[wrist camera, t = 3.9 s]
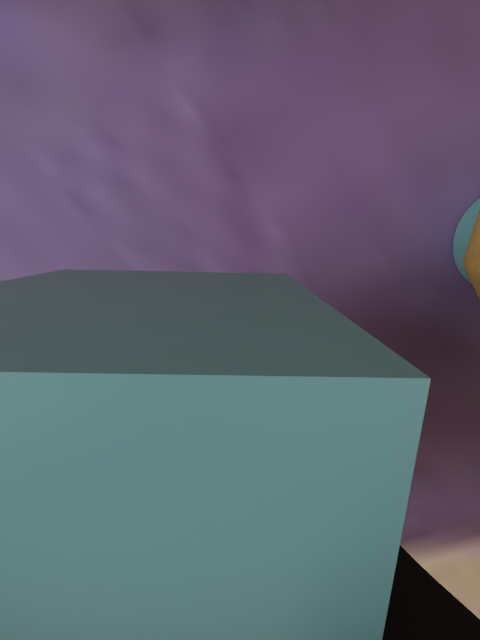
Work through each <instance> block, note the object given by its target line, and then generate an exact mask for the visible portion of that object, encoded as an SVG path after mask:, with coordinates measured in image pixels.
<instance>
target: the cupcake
mask: <svg viewBox="0 0 480 640" xmlns="http://www.w3.org/2000/svg"><path fill="white" fill-rule="evenodd" d="M453 257H454V261H455V264H456V266H457V269H458V270H459V272H460V273H461V275H462V276H463V277H464V278H465V279H466V280H467V281H468V282H470V283H471V284H472V285H473V287H474V289H475V291H476V294H477V296H478V298H479V300H480V198H479V199H478V200H476V201H475V202H474V203H473V204H472V205H471V206H470V207H469V208H468V210H467V211H466V212H465V214H464V215H463V217H462V218H461V220H460V222H459V224H458V226H457V228H456V231H455V235H454V239H453Z"/></svg>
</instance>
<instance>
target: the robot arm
mask: <svg viewBox="0 0 480 640" xmlns="http://www.w3.org/2000/svg"><path fill="white" fill-rule="evenodd" d="M382 640H480V619H478V618H477V617H476V616H475V615H474V614H473V613H472V612H471V611H470V610H468V609H467V608H466V607H465V606H464V605H463V604H462V603H461V602H460V601H458V600H457V599H456V598H455V597H454V596H453V595H452V594H451V593H450V592H448V591H447V590H446V589H445V588H444V587H443V586H442V585H441V584H439V583H438V582H437V581H436V580H435V579H434V578H433V577H432V576H431V575H430V574H429V573H428V572H427V571H426V570H425V569H423V568H422V567H421V566H420V565H419V564H418V563H417V562H416V561H415V560H414V559H413V558H412V557H411V556H410V555H409V554H408V553H407V552H406V551H405V550H404V549H403V548H402V547H401V546H400V547H399V552H398V557H397V563H396V568H395V573H394V579H393V584H392V589H391V595H390V600H389V605H388V611H387V616H386V621H385V627H384V632H383V637H382Z"/></svg>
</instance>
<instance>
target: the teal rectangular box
mask: <svg viewBox="0 0 480 640" xmlns="http://www.w3.org/2000/svg"><path fill="white" fill-rule="evenodd" d="M430 381H431V378H430V377H428V376H427V375H426V374H424V373H423V372H421V371H420V370H419V369H417V368H416V367H415V366H413V365H412V364H410V363H409V362H408V361H406V360H405V359H403V358H402V357H401V356H399V355H398V354H397V353H395V352H394V351H392V350H391V349H390V348H388V347H387V346H385V345H384V344H383V343H381V342H380V341H379V340H377V339H376V338H374V337H373V336H372V335H370V334H369V333H368V332H366V331H365V330H363V329H362V328H361V327H359V326H358V325H356V324H355V323H354V322H352V321H351V320H350V319H348V318H347V317H345V316H344V315H343V314H341V313H340V312H338V311H337V310H336V309H334V308H333V307H332V306H330V305H329V304H327V303H326V302H325V301H323V300H322V299H321V298H319V297H318V296H316V295H315V294H314V293H312V292H311V291H309V290H308V289H307V288H305V287H304V286H303V285H301V284H300V283H298V282H297V281H296V280H294V279H293V278H291V277H290V276H289V275H287V274H266V273H216V272H166V271H117V270H67V269H65V270H59V271H54V272H49V273H43V274H38V275H33V276H27V277H22V278H16V279H11V280H6V281H0V640H382V637H383V632H384V627H385V621H386V616H387V611H388V605H389V600H390V595H391V589H392V584H393V579H394V573H395V568H396V563H397V557H398V552H399V547H400V541H401V536H402V531H403V525H404V520H405V515H406V509H407V504H408V499H409V493H410V488H411V483H412V477H413V472H414V466H415V461H416V456H417V450H418V445H419V440H420V434H421V429H422V424H423V418H424V413H425V408H426V402H427V397H428V392H429V386H430Z"/></svg>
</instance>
